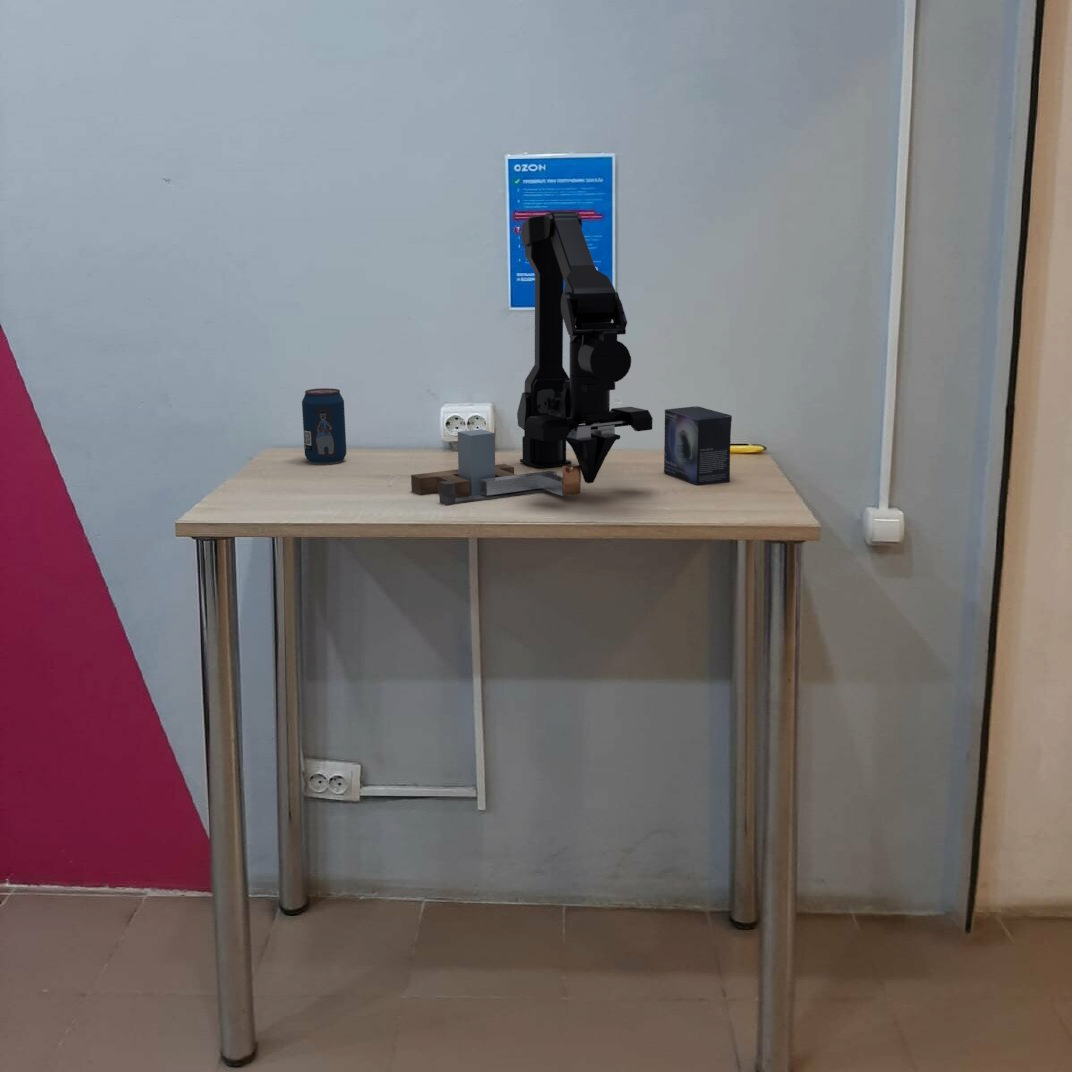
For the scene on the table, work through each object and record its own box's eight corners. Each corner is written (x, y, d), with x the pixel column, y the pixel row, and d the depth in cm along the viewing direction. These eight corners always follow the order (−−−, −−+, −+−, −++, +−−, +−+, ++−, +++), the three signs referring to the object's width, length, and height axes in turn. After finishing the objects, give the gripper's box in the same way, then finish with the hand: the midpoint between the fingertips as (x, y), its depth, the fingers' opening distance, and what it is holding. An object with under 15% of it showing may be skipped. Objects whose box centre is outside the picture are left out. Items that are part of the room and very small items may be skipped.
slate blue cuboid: (482, 488, 177) (481, 429, 174) (495, 493, 173) (494, 433, 171) (458, 491, 174) (457, 431, 172) (471, 496, 171) (470, 435, 169)
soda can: (332, 456, 202) (328, 386, 199) (354, 461, 198) (351, 390, 194) (297, 461, 198) (293, 390, 195) (319, 467, 193) (315, 394, 190)
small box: (660, 473, 187) (662, 408, 184) (695, 470, 189) (697, 405, 187) (694, 486, 178) (696, 417, 175) (731, 482, 180) (734, 414, 177)
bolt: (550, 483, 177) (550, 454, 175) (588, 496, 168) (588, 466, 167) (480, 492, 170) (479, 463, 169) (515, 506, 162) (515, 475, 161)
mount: (540, 474, 186) (540, 456, 185) (577, 487, 177) (577, 467, 176) (411, 491, 175) (410, 471, 174) (444, 505, 166) (444, 484, 165)
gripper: (610, 365, 177) (609, 466, 181) (503, 373, 167) (505, 480, 171) (655, 372, 167) (653, 479, 171) (545, 381, 158) (545, 494, 162)
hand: (589, 482), depth 169 cm, fingers closed
